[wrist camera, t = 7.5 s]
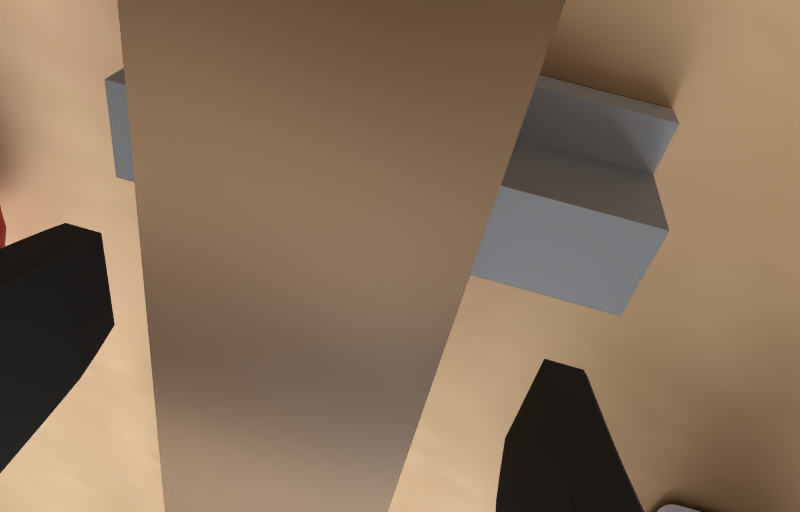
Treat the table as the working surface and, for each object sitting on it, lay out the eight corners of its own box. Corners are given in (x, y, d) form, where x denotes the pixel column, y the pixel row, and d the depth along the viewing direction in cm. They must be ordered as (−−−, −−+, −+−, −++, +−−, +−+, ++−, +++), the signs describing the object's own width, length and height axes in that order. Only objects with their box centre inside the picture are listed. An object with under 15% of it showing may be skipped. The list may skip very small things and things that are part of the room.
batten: (399, 420, 17) (347, 624, 13) (265, 381, 17) (170, 570, 13) (583, -168, 9) (616, -151, 4) (317, -234, 9) (92, -281, 4)
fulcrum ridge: (591, 273, 17) (597, 354, 14) (184, 162, 17) (121, 221, 15) (672, 109, 14) (701, 175, 11) (177, -20, 14) (97, 16, 12)
